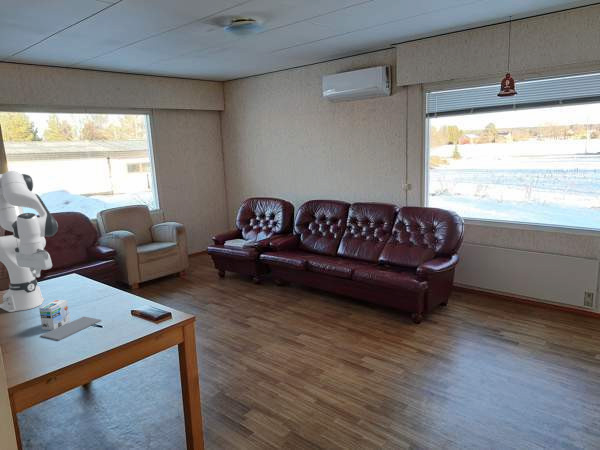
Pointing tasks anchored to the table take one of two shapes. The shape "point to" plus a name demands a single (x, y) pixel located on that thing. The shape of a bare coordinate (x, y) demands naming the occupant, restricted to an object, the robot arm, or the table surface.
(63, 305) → the light bulb box
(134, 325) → the table surface
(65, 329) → the pad
